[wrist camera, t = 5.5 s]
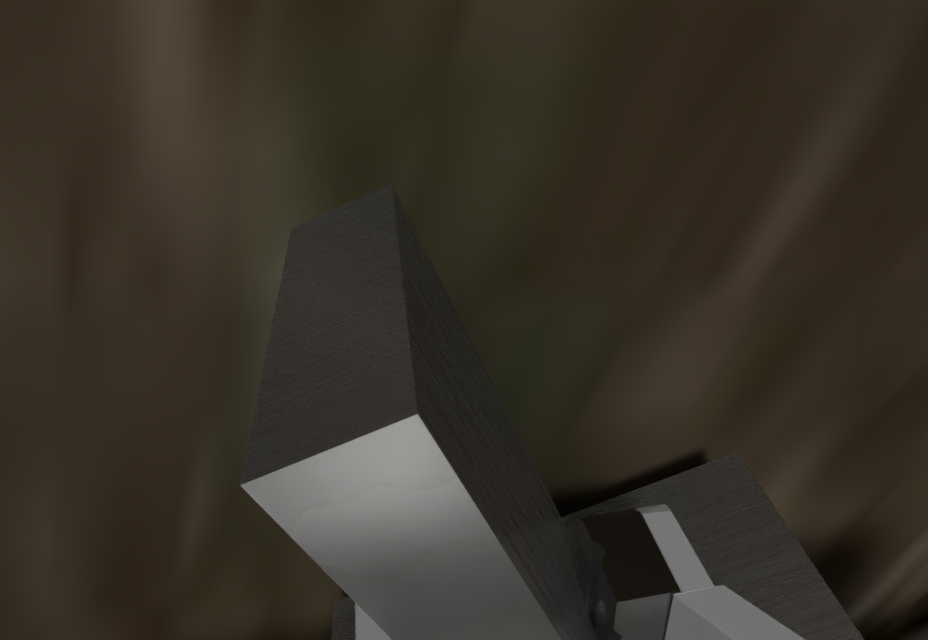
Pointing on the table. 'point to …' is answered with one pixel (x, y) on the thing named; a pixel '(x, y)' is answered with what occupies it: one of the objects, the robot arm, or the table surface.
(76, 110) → the table surface
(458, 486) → the steel link
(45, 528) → the table surface
